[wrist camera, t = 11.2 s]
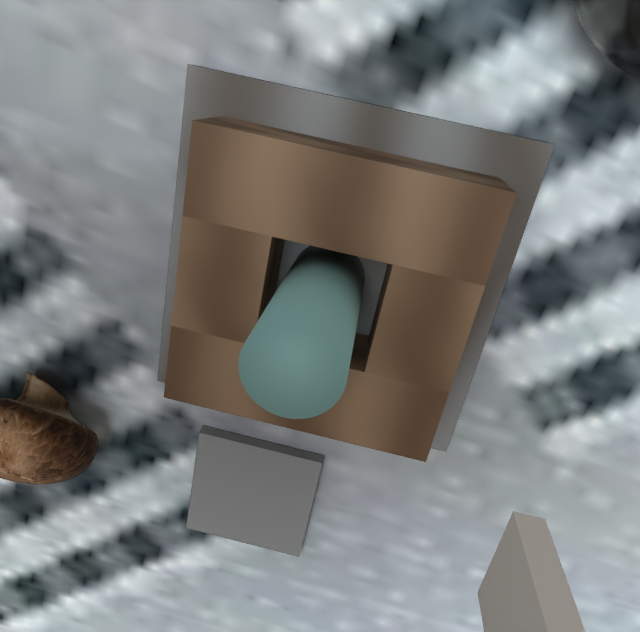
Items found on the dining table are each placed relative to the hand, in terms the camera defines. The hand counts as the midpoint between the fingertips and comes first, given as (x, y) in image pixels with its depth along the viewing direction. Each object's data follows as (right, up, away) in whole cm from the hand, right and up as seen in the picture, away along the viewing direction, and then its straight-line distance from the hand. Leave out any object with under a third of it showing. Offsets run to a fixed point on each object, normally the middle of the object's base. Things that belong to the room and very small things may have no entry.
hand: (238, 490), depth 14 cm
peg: (+2, +6, +16) cm, 18 cm away
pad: (-2, -7, +23) cm, 25 cm away
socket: (+3, +7, +17) cm, 19 cm away
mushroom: (-16, -2, +24) cm, 28 cm away
